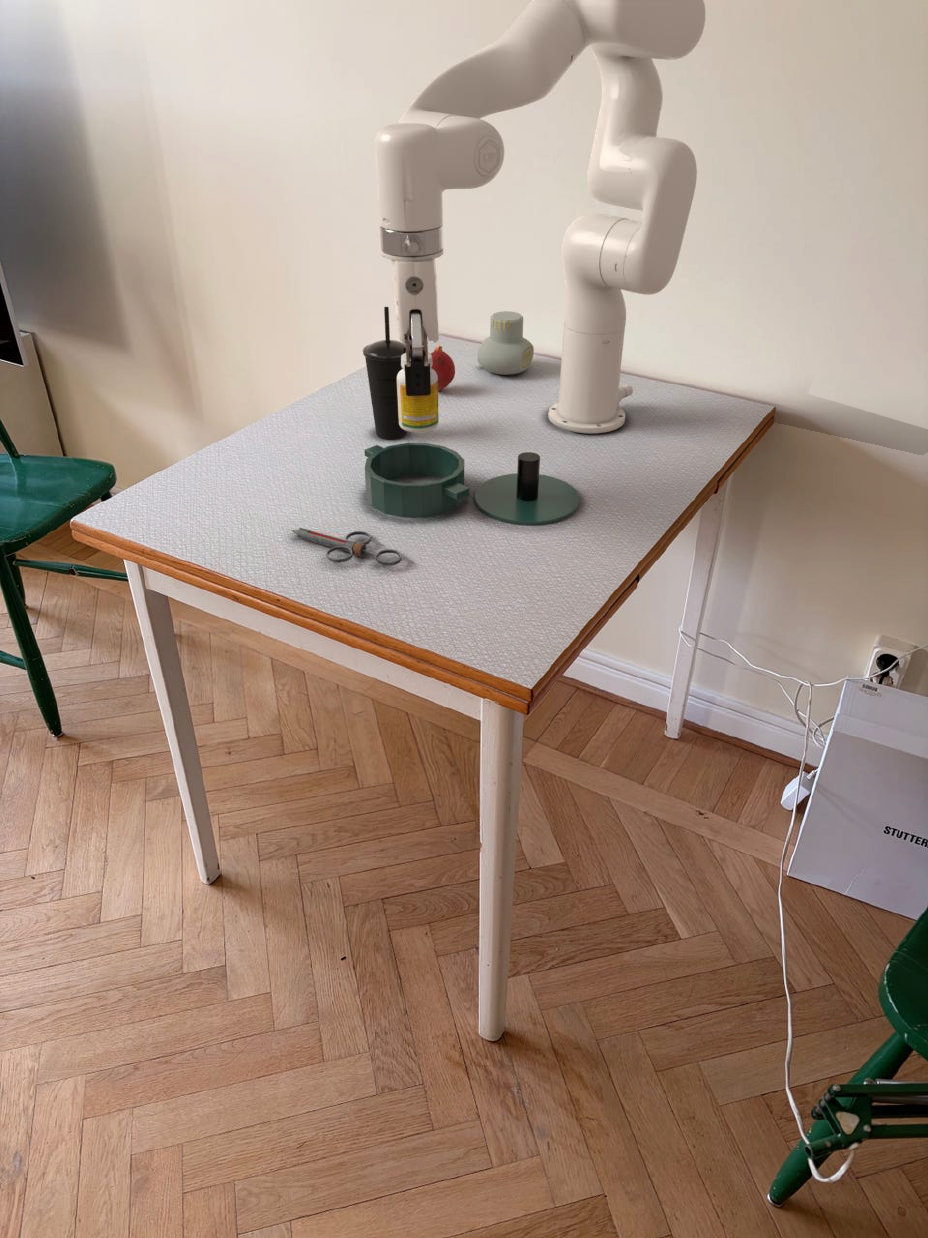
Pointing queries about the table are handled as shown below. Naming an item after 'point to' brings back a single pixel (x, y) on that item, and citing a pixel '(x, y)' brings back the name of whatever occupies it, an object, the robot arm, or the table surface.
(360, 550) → the syringe
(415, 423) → the supplement bottle
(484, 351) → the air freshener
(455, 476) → the pot
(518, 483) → the lid
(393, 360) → the drinking cup
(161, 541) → the table surface
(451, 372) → the onion
